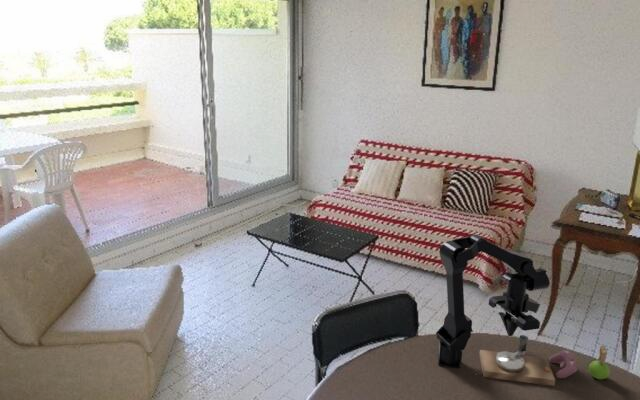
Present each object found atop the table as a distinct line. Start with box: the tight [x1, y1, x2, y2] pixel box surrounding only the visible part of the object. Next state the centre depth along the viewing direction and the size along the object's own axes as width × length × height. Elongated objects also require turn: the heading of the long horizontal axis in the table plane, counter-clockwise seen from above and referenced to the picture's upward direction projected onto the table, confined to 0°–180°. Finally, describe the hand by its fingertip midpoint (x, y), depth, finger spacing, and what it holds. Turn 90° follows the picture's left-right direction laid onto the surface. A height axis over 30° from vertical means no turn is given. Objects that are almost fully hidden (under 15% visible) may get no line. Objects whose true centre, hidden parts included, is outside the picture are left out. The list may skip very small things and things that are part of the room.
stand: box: [478, 349, 556, 387], centre depth 155 cm, size 20×12×2 cm, turn 79°
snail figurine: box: [588, 345, 611, 380], centre depth 150 cm, size 5×6×12 cm
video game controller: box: [549, 349, 578, 379], centre depth 155 cm, size 10×5×7 cm, turn 169°
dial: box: [496, 334, 529, 372], centre depth 155 cm, size 13×8×6 cm, turn 134°
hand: (510, 335), depth 164 cm, fingers closed
